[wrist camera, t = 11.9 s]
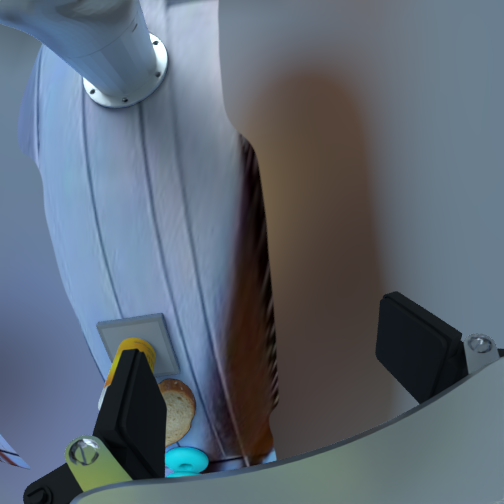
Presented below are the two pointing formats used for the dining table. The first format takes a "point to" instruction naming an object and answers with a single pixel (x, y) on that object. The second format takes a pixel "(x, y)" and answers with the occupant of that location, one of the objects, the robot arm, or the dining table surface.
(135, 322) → the slate coaster
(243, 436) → the dining table surface
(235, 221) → the dining table surface
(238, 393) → the dining table surface
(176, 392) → the bread slice
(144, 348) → the beer can
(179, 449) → the donuts
